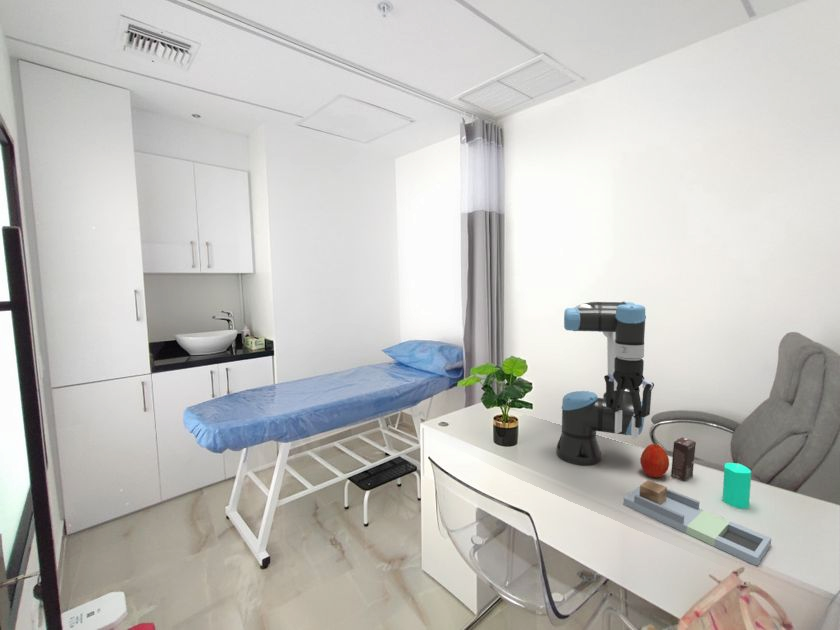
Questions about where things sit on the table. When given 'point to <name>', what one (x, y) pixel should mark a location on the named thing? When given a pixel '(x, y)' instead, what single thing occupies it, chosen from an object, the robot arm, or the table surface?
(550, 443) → the table surface
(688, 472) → the box
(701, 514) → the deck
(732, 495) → the candle
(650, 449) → the apple
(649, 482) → the block
